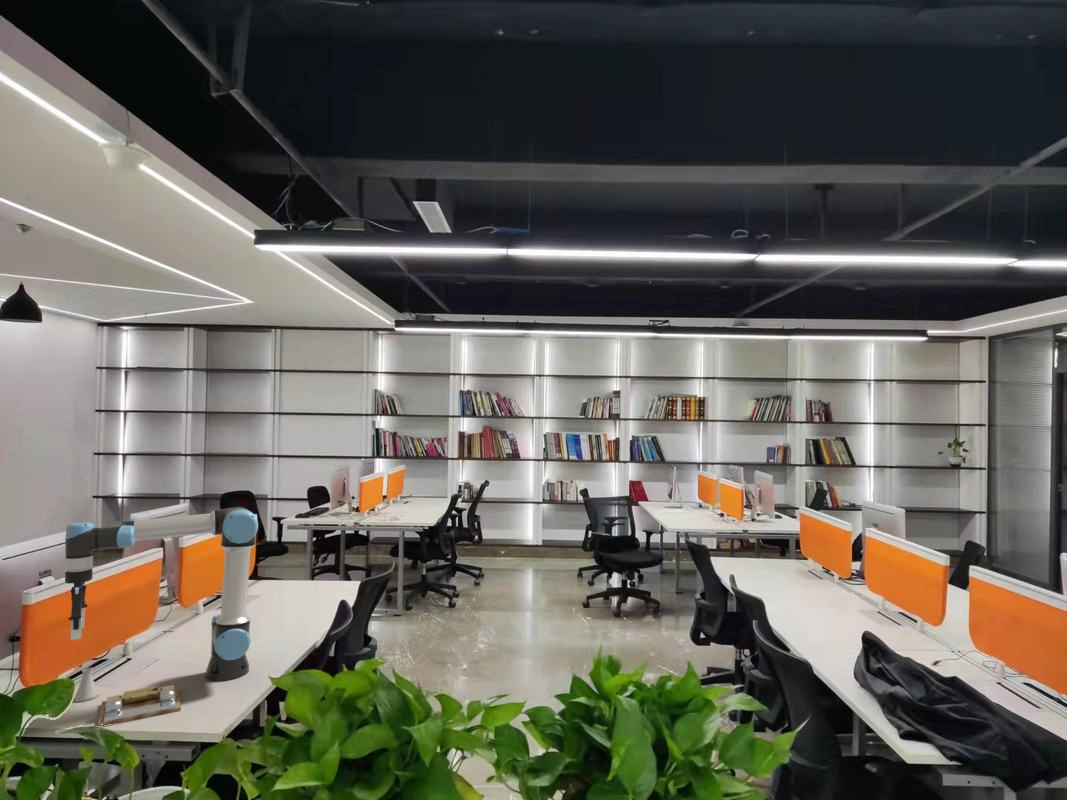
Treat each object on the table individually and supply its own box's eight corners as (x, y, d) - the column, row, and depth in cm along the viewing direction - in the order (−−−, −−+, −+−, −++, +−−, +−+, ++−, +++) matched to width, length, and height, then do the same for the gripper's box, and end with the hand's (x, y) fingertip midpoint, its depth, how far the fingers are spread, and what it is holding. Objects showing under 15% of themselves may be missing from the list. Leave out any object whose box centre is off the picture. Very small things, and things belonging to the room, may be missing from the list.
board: (178, 690, 231) (178, 687, 231) (180, 710, 214) (180, 707, 214) (102, 705, 219) (102, 701, 219) (98, 728, 202) (98, 724, 202)
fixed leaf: (176, 698, 221) (176, 686, 221) (177, 707, 214) (177, 695, 214) (103, 712, 210) (104, 700, 210) (102, 722, 203) (102, 709, 203)
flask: (83, 703, 220) (83, 674, 221) (69, 700, 223) (70, 671, 224) (103, 695, 227) (104, 667, 228) (90, 692, 230) (90, 664, 230)
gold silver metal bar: (173, 688, 230) (174, 677, 230) (174, 696, 223) (174, 684, 223) (107, 700, 219) (107, 689, 220) (105, 709, 212) (106, 697, 212)
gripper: (68, 564, 222) (67, 625, 221) (61, 578, 201) (59, 646, 200) (94, 561, 226) (94, 622, 225) (89, 575, 205) (88, 641, 204)
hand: (77, 633), depth 213 cm, fingers open, 13 cm apart
